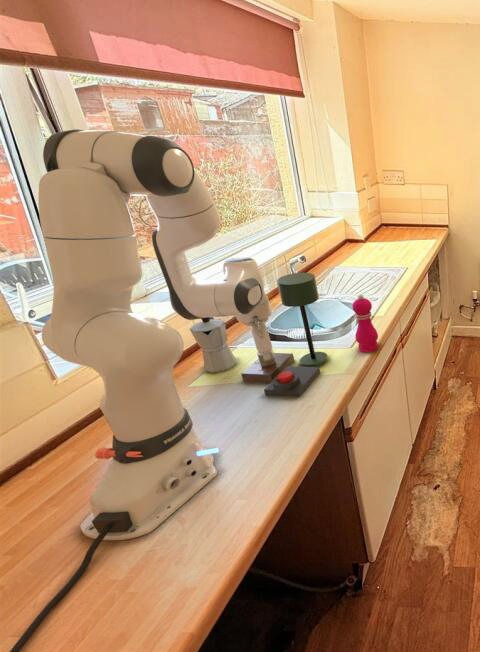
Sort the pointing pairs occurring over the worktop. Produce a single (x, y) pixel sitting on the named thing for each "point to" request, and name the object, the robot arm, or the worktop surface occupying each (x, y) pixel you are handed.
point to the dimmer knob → (266, 362)
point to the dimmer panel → (267, 369)
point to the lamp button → (285, 377)
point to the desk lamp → (302, 309)
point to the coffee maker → (213, 344)
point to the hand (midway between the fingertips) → (265, 351)
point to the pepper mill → (365, 325)
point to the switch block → (293, 382)
